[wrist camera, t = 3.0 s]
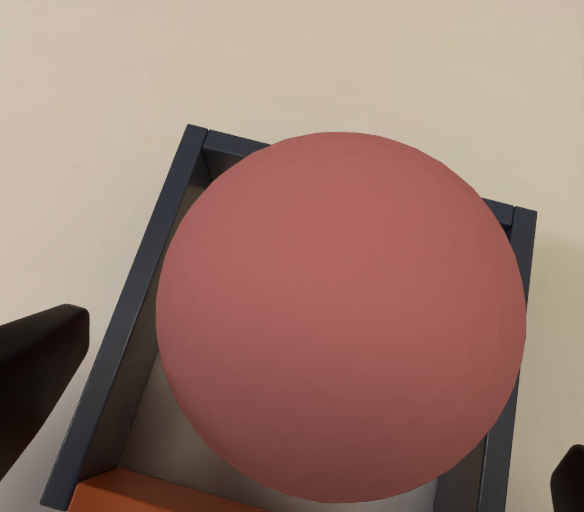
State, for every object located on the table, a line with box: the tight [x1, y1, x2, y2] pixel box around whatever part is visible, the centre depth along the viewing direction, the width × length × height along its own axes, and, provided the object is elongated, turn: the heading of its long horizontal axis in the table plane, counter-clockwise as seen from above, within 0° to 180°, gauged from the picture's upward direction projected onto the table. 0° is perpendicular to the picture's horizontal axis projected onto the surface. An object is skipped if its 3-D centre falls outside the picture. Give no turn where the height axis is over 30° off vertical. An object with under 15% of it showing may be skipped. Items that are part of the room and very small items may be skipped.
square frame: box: [40, 124, 537, 512], centre depth 16 cm, size 13×13×4 cm
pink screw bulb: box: [156, 132, 526, 503], centre depth 12 cm, size 7×7×12 cm
